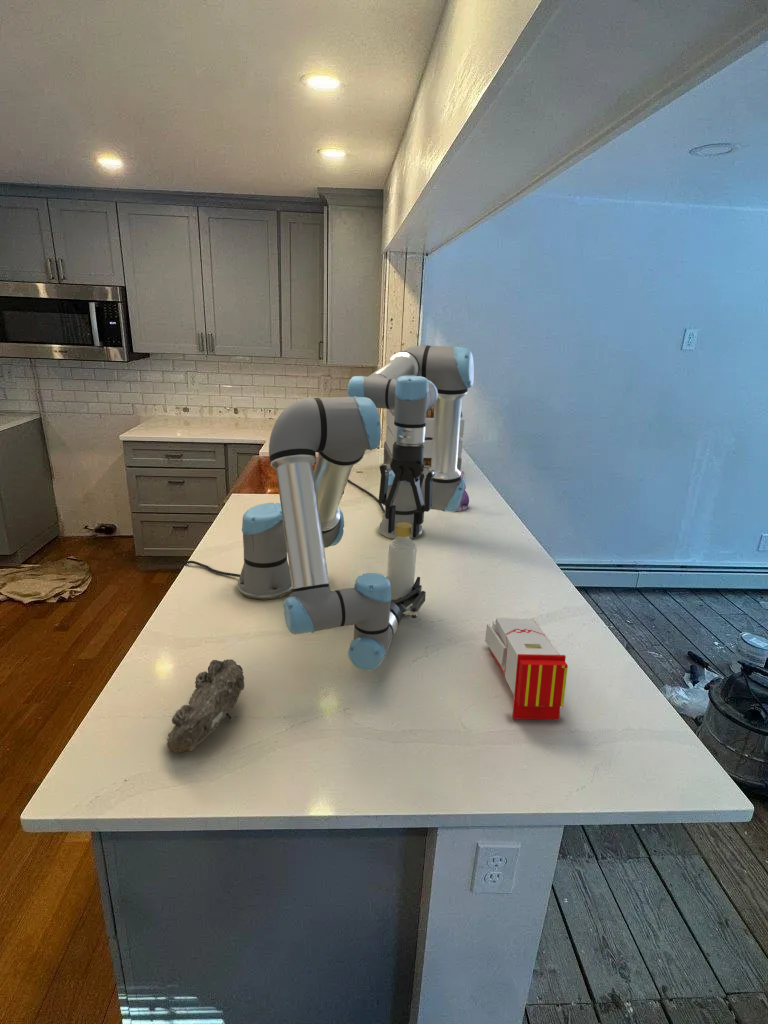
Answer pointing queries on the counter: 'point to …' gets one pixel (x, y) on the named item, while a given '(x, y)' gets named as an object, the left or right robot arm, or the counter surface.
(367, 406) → the left robot arm
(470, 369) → the right robot arm
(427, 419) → the grey slatted box
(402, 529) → the cap
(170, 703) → the counter surface
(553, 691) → the toy
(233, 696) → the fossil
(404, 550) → the bottle
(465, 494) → the figurine
